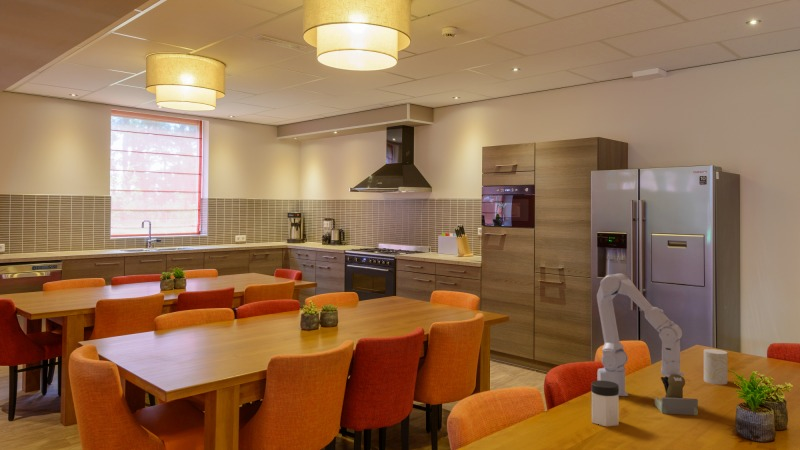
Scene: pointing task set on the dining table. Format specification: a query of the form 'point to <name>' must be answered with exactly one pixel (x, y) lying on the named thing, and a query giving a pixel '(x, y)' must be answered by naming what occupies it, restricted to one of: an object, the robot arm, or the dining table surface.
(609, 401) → the jar
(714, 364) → the white stone cylinder
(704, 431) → the dining table surface
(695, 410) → the grey rectangular box
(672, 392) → the cork
